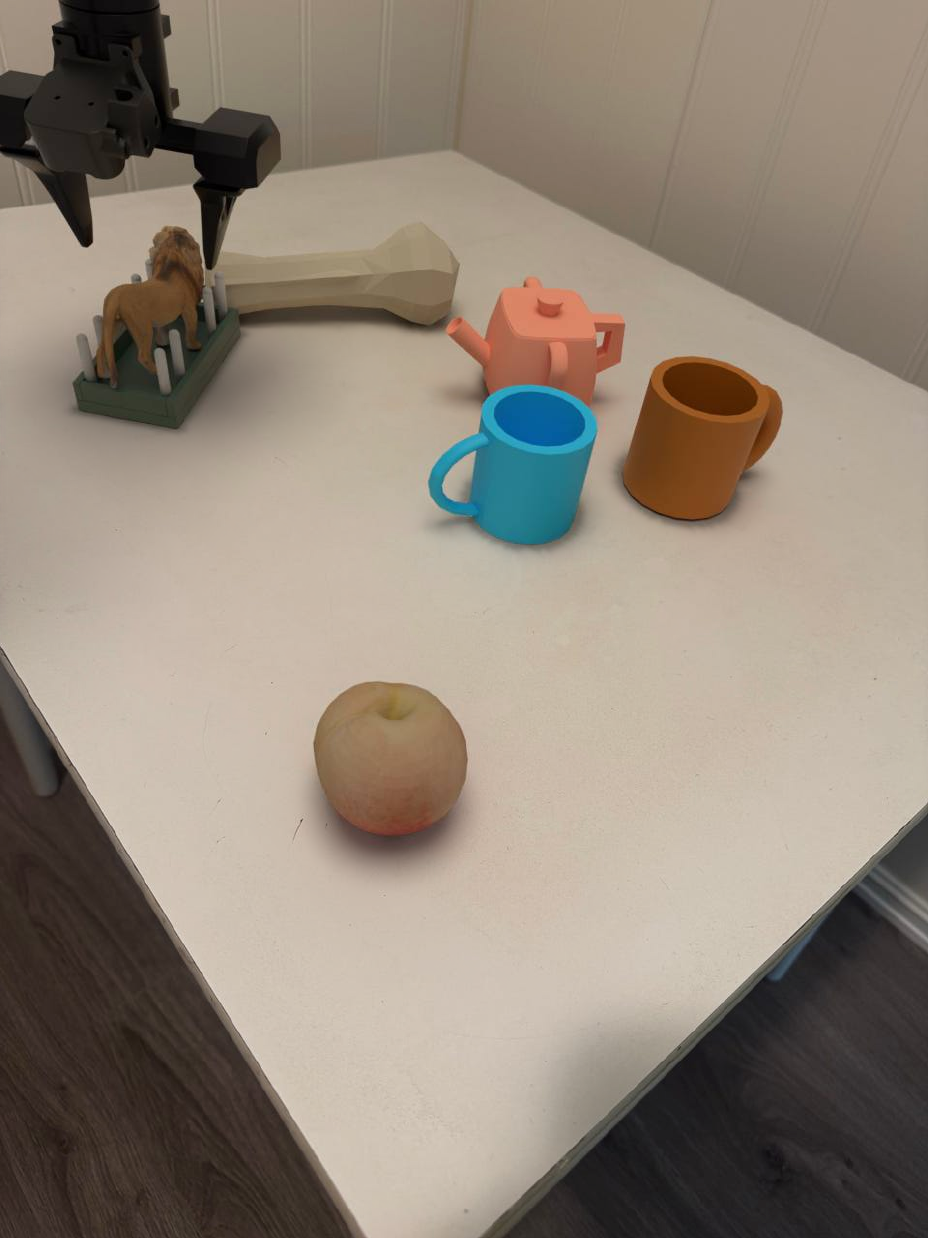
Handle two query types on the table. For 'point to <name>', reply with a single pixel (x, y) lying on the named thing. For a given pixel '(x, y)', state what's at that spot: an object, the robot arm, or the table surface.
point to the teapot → (543, 341)
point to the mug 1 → (523, 464)
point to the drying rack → (159, 364)
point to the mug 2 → (698, 435)
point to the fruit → (390, 757)
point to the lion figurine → (155, 301)
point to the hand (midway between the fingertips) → (149, 256)
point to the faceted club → (348, 277)
